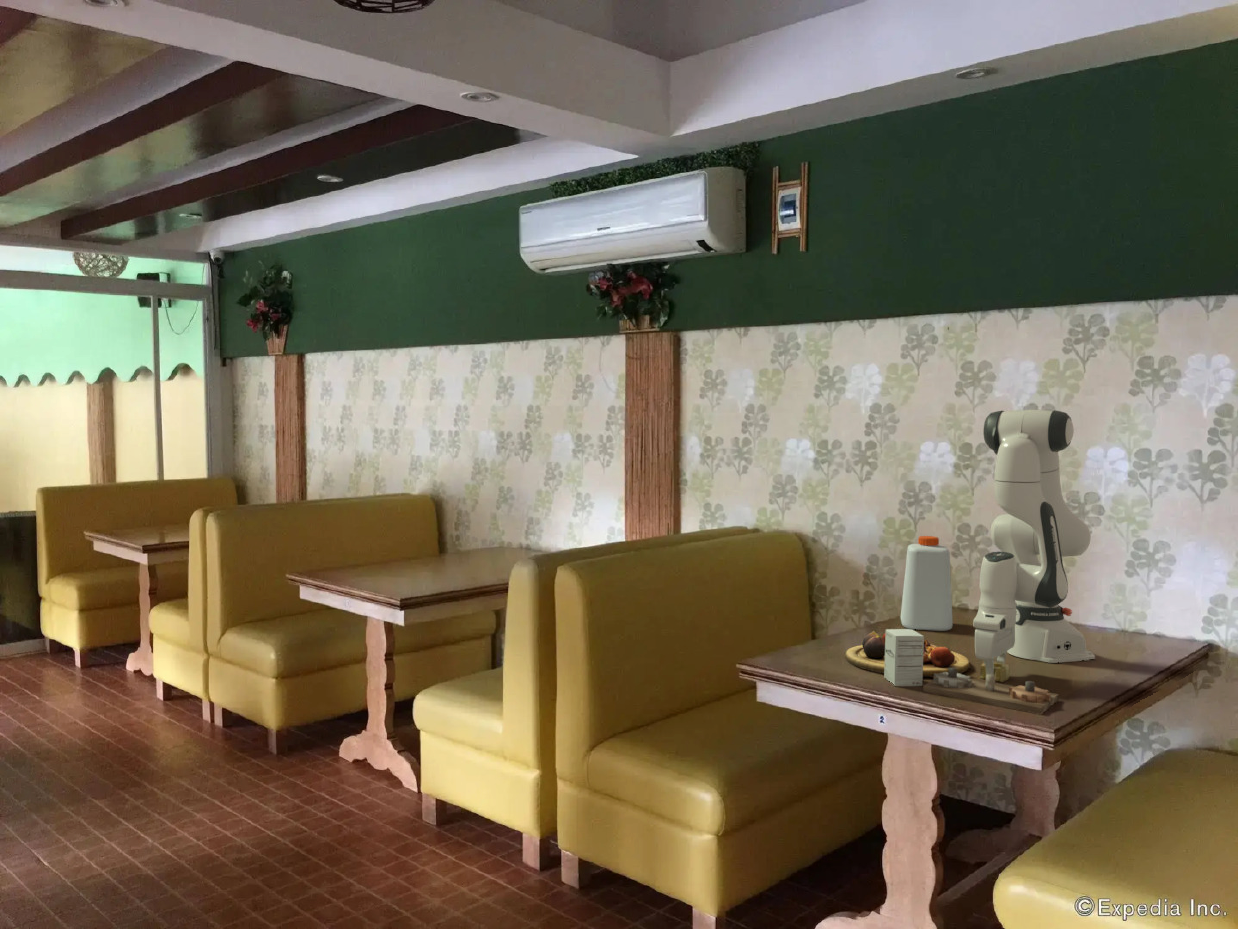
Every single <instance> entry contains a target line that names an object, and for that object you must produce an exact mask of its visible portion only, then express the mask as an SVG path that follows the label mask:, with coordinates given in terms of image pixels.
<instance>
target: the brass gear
mask: <svg viewBox="0 0 1238 929" xmlns="http://www.w3.org/2000/svg"><path fill="white" fill-rule="evenodd" d="M994 667H995V673H994V674H993V675H995V682H999V683H1000V682H1001V683H1003V682H1006V681H1008V680H1009V678H1010V665H1009V664H1002V663H996V661H994ZM979 674H980V679H982V680H983V679H984V680H986V666H985V662H983V663H981V665H980V673H979Z"/></svg>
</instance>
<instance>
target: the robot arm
mask: <svg viewBox="0 0 1238 929" xmlns="http://www.w3.org/2000/svg"><path fill="white" fill-rule="evenodd" d="M983 424H984V425H983V428H982V429H983V430H982V433H983V434H982V435H983V439H984V443H985V444H986V445H987V447H988V448H989V449H990V450H992V451H993V453H994V454H995V455H996V459H995V465H994V466H995V467H994V474H993V475H994V476H993V478H994V480H993V495H994V499H995V502H996V503H997V505H998V506H999V507H1000V508H1001V509H1002V510H1003V512H1005V513H1006V514H1000V515H998V516H997V517H995V519H994V520H993V522H992V523H991V526H990V531H989V533H990V539H991V541H992V543H993V544H994V546H995V547H996V548H997V549H998V550H1000V551H991V552H988V553H986V554H985V555H984V556H983V558H982V561H981V567H980V574H979V584H978V585H979V586H978V587H979V591H980V597H979V601H978V610H977V613H976V616H975V617H974V618H973V620H972V626H973V628H975V629H974V654H975V657H976V659H977V660H983V663H985V666H986V674H992V675H993V674H994V673H995V667H994V662H996V663H1002V664H1005V661H1006V658H1007V654H1010V655H1012V656H1014V657H1017V658H1021V659H1026V660H1033V661H1038V662H1039V661H1040V662H1044V663H1049V664H1058V662H1059V663H1070V662H1080V661H1081V662H1083V661H1082V660H1084V661H1090V660H1089V659H1095V660H1096V656H1095V654H1094V653H1093V652H1092V651H1089V650H1087V644H1086V639H1085V636H1084V635H1083V634H1082V632H1080V630H1078V629H1077V628H1076V627H1074V626H1073V625H1072V624H1071V623H1069V621H1067V620H1066V619H1065V616H1067V617H1071V616H1072V614H1073V610H1072V609H1071V608H1068V607H1062V606H1061V605H1060V604H1061V603H1062V602H1064V601H1065V599H1066V598H1067V596H1068V591H1069V583H1068V579H1067V574H1066V571H1065V568H1064V563H1063V558H1066V557H1067V558H1068V557H1077V556H1081V555H1083V554H1084V553H1085V552H1086V551H1087V550H1088V548H1089V547H1090V545H1091V544H1090V543H1091V531H1090V529H1089V527H1088V525H1087V523H1085V522H1084V521H1083V520H1082V519H1080V518H1079V517H1078V516H1077V515H1076V514H1074V512H1073V511H1071V509H1070V508H1069V506H1068V505H1067V503H1066V501H1065V499H1064V497H1063V494H1062V487H1061V475H1060V473H1061V472H1060V457H1059V452H1060V451H1063V450H1065V449H1067V448H1068V447H1069V446H1070V445H1071V443H1072V440H1073V437H1074V433H1075V432H1074V430H1075V429H1074V424H1073V422H1072V418H1071V416H1070V415H1069V414H1068V412H1065V411H1060V410H1055V409H1054V410H1052V411H1051V410H1045V409H1028V408H1027V409H1021V410H1020V409H1017V410H1007V411H1004V410H997V411H993V412H990V413H989V414H988V416H986V418H985V419H984V423H983ZM1038 555H1039V558H1040V560H1039V558H1038ZM995 659H996V660H995ZM1005 665H1006V664H1005Z"/></svg>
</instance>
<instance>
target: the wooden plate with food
mask: <svg viewBox="0 0 1238 929" xmlns="http://www.w3.org/2000/svg"><path fill="white" fill-rule="evenodd" d="M885 636H886V632H885V633H883V634H882V636H881V635H879V634H878V633H876V632H875V631H874V630H873V631H871V632H870V633H868V634H866V636H865V637H864V638H863V640H862V644H861V645H856V646H853V647H850V648H848V649H847V650H846V652H845V659H846V660H847V662H848V663H849V662H850V663H849V664H851V665H853V666H855V667H857V668H860V669H864V670H866V669H867V670H866V671H870V670H871V672H874V671H875V672H876V673H880V674H884V667H885ZM970 667H971V664H970V660H969V659H968V658H967V657H966V656H965V655H963V654H960V653H958V652H955V651H953V650H951V649H950V648H949V647H946V646H942V645H941V646H937V645H935V644H930V642H928V640H925V639H924V651H923V678H934V674H935V673H937V674H939V673H942V672H947V673H948V668H956V669H957V673H961V674H963V673H965V672H966V671H968V670H969V669H970Z"/></svg>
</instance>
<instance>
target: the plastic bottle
mask: <svg viewBox="0 0 1238 929" xmlns="http://www.w3.org/2000/svg"><path fill="white" fill-rule="evenodd" d="M917 542H918V543H911V544H909V545H908V546H907V548H906V558H905V559H906V561H905V571H904V578H903V587H902V599H901V610H900V623H901V624H902V626H903V627H904V628H905V629H913V630H915V629H916V630H917V631H918V630H919V631H931V632H933V631H935V632H936V631H937V632H946V631H950V630H951V629H952V628H953V605H952V604H953V603H952V602H953V601H952V581H951V580H952V578H951V575H952V574H951V556H950V555H951V553H950V550H949V548H948V547H947V546H945V545H942V544H939V542H940V539H939V537H938V536H932V535H921V536H919V537H918V541H917Z"/></svg>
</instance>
